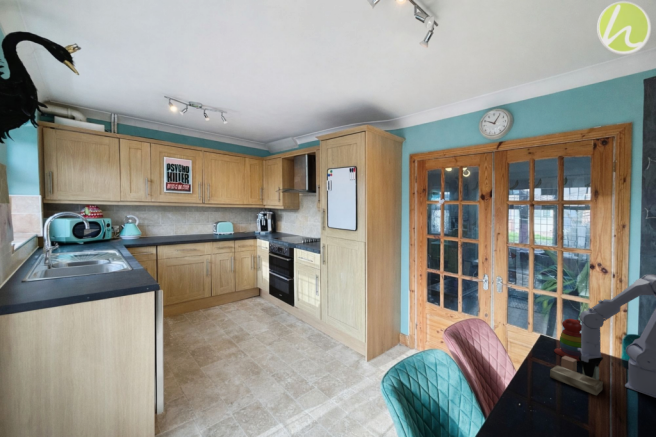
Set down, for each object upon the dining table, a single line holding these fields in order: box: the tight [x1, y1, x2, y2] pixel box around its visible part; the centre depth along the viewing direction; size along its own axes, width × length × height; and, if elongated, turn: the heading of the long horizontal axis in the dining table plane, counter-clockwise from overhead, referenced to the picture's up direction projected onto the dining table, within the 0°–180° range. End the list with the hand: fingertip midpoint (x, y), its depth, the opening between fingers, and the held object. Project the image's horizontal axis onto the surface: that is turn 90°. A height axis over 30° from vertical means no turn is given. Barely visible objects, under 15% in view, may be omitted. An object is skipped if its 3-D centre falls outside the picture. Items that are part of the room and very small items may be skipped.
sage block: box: [582, 366, 600, 381], centre depth 112 cm, size 4×4×5 cm
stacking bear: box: [553, 318, 582, 362], centre depth 131 cm, size 11×10×18 cm
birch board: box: [549, 365, 604, 396], centre depth 109 cm, size 14×7×3 cm, turn 32°
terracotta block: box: [560, 356, 578, 372], centre depth 118 cm, size 4×4×5 cm
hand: (590, 374), depth 112 cm, fingers closed on sage block, 4 cm apart
